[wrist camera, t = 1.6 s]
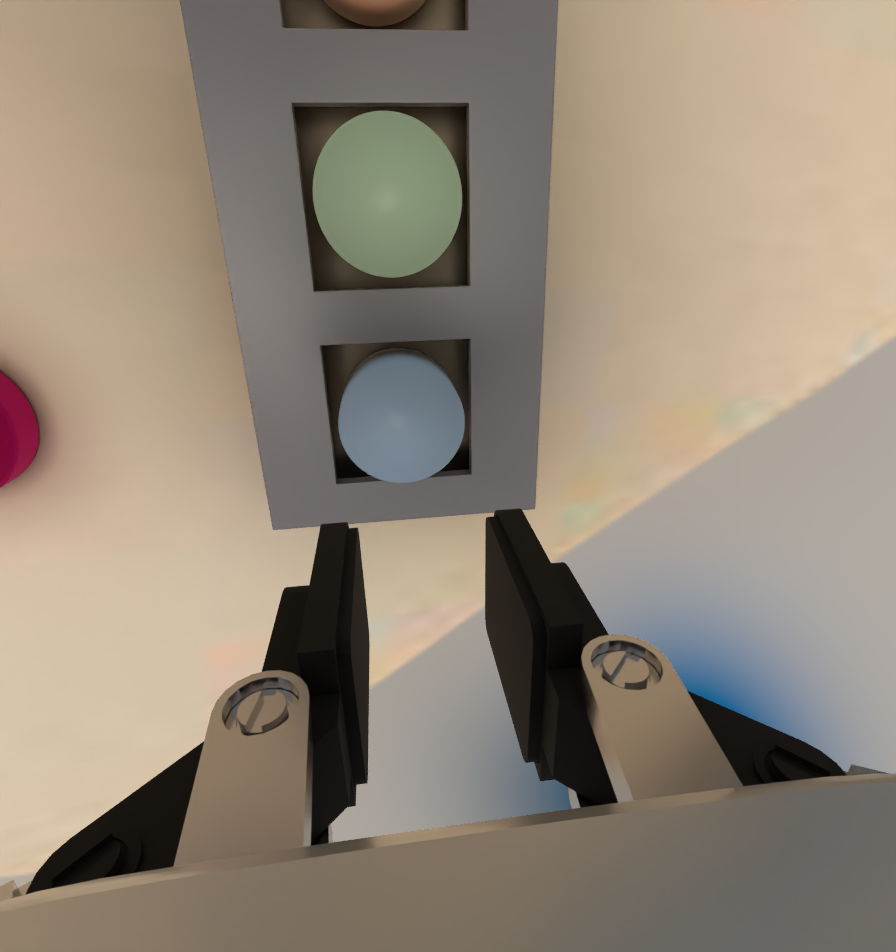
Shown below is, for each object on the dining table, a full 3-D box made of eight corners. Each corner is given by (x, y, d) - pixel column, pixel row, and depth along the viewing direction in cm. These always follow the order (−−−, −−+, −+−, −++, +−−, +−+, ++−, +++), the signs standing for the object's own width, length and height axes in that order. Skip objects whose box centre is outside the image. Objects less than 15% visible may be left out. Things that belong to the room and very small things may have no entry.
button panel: (158, -266, 16) (115, -367, 14) (542, -241, 18) (572, -329, 15) (283, 500, 27) (272, 529, 24) (519, 482, 28) (535, 509, 25)
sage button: (313, 128, 20) (303, 110, 17) (449, 128, 20) (461, 110, 17) (328, 275, 22) (321, 280, 19) (452, 271, 22) (463, 275, 19)
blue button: (336, 350, 23) (331, 365, 20) (453, 345, 23) (464, 359, 21) (348, 460, 25) (344, 487, 22) (455, 452, 25) (465, 478, 23)
